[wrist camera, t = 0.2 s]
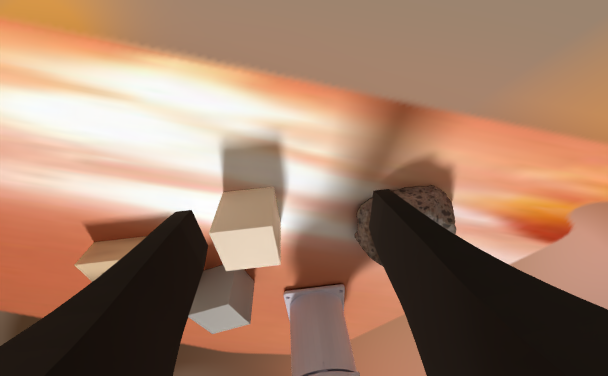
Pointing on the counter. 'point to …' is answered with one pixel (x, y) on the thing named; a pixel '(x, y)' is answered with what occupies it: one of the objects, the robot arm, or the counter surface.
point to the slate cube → (223, 299)
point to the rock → (421, 198)
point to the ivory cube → (247, 229)
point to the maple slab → (105, 255)
